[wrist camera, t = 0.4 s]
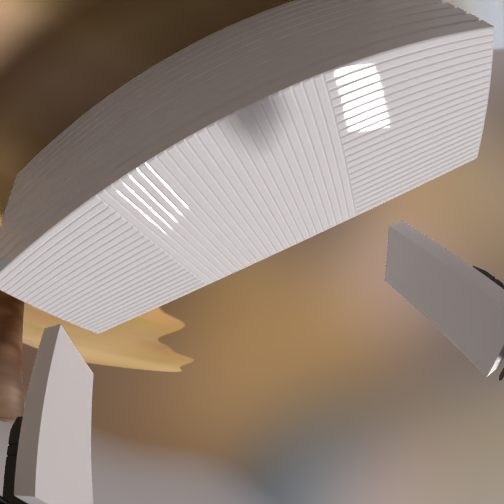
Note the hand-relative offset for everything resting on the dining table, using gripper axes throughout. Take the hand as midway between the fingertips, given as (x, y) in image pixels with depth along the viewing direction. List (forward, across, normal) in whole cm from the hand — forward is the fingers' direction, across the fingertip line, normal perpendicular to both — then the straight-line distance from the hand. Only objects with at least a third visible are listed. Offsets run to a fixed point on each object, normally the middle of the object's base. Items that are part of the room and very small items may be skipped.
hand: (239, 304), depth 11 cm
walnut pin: (+24, -26, -8) cm, 37 cm away
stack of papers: (+16, +3, +6) cm, 17 cm away
